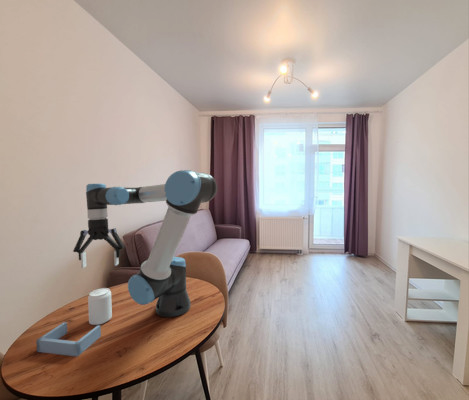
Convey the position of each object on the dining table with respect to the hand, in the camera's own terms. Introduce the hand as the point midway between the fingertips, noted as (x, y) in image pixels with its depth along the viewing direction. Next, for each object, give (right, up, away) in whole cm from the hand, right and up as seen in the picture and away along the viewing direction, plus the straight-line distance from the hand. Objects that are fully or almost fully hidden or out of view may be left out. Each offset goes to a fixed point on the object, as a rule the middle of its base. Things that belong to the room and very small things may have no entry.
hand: (100, 266), depth 97 cm
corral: (+2, -21, -21) cm, 30 cm away
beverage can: (+4, -21, -7) cm, 22 cm away
